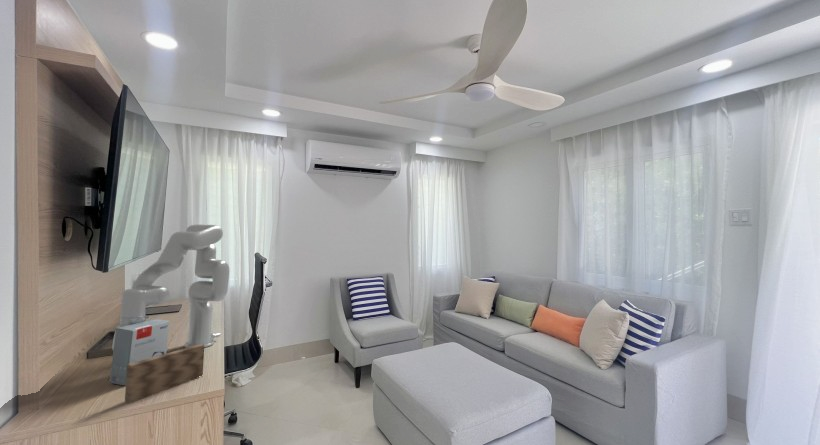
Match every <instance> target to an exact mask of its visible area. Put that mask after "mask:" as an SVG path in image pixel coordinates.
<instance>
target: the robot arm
mask: <svg viewBox="0 0 820 445" xmlns="http://www.w3.org/2000/svg"><path fill="white" fill-rule="evenodd" d="M223 234H224V230H223V229H222V227H220V226H219V225H216V224H192V225H188V227H187V228H186V231H177V232H174V233H173V234H172V235H171V236H170V238H169V240H168V241H167V243H166V245H165V246H164V249H163V250H162V253H161V254H160V255H159V257H158V259H157V260H156V261H155V262H154V263H152V264H151V265H150V266H148V267H147V268H146V269H144V271H142V272H141V273H140V274H139V275H138V277H137V278H136V280H135V282H134V283H133V285H132V286H131V288H128V289H125V290H123V291H122V294H121V304H120V305H121V306H120V316H119V318H120V319H119V324H118V325H116V328H115V331H114V335H113V339H112V348H111V349H112V351H114V343H115V334H116V329H117V328H119V327H124V326H128V325H132V324H136V323H140V322H145V321H146V320H147V319H149V317H150V316H149V314H146V310H147V309H146V308H147V306H152V305H161V304H163V303H165V302H166V301H167V300H168V299H169V297H170V290H169V289H168V288H166V287H164V286H160V285H153V284H154V282H155V281H156V280H158V279H159V278H160V277H162V276H163V275H166V274H168V273H170V272H173V271H176V270H178V268H180V267H181V265H182V263H183V261H184V258H185V257H186V254H187V253H188V251H196V255H195V264H194V265H195V266H194V274H195V276H196V277H197V278H201V279H208V280H197V281H195V282H193V283H192V284H190V286H189V288H188V297H189V298H188V299H189V308H190V309H189V321H188V322H189V325H188V338H187V339H188V341H187V342H185V343H184V344H183V347H184V348H188V347H191V346H195V345H198V344H203V345H204V348H208V347H210V346H212V345H214V344H215V338H219V337H221V333H220V332H217V333H213V332H212V328H213V327H212V325H213V310H214V309H213V305H212V302H222V300H224V299H225V298H226V296H227V294H228V289H229V280H230V265H229V264H228V262H227V261H225V260H223V259H222V260H221V259H217V247H216V245H215V244H216V243H218V242H219V241H220V240H221V239H222V238H223ZM209 279H211V281H210V280H209Z"/></svg>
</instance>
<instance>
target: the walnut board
mask: <svg viewBox="0 0 820 445" xmlns="http://www.w3.org/2000/svg"><path fill="white" fill-rule="evenodd" d="M204 360H205V347H204V345H203V344H198V345H195V346H191V347H188V348H185V347H184V348H181V349H178V350H174V351H171V352H166V354H163V355H159V356H156V357H152V358H149V359H145V360H141V361H138V362H134V363H131V364H127V375H126V385H125V392H124V402H125V403H127V404H132V403H134V402H137V401H139V400H142V399H145V398H147V396H148V397H150V396H153V395H155V393H156V394H158V393H161V392H163V390H164V391H165V390H166V391H167V390H169V389H172V388H174V386H175V387H177V386H179V384H180V385H182V384H181V383H183V384H185V383H188V382H190V381H189V380H191V381H193V380H195V379H194V378H196V379H198V378H197V377H199V376H201V377H203V376H204V362H205V361H204ZM202 375H203V376H202ZM199 378H200V377H199ZM192 379H193V380H192ZM187 381H188V382H187ZM184 382H185V383H184ZM176 385H177V386H176ZM171 387H172V388H171ZM160 391H161V392H160ZM152 394H153V395H152Z"/></svg>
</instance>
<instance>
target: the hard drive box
mask: <svg viewBox="0 0 820 445" xmlns="http://www.w3.org/2000/svg"><path fill="white" fill-rule="evenodd" d="M170 323H171V321H170V320H166V319H159V318H154V319H150V320H145V322H140V323H136V324H132V325H128V326H124V327H119V328H117V329H116V328H115V331H116V334H115V333H114V334H115V343H114V350H112V351H113V353H112V361H111V367H110V368H111V369H110V377H109V383H111V384H116V385H121V386H125V387H126V375H127V364H131V363H134V362H138V361H141V360H145V359H149V358H152V357H156V356H159V355H163V354H166V353H167V349H168V341H169V335H170V334H169V333H170Z"/></svg>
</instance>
